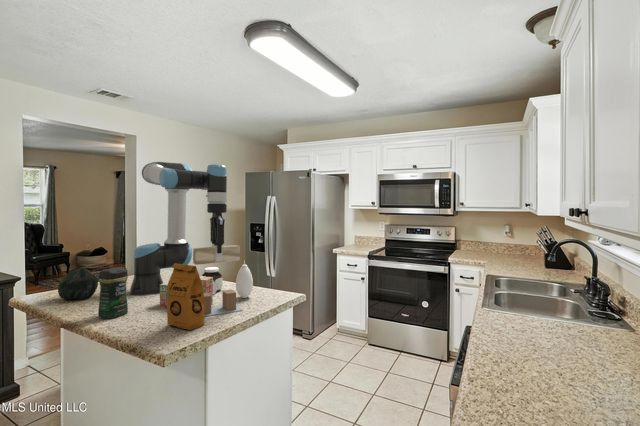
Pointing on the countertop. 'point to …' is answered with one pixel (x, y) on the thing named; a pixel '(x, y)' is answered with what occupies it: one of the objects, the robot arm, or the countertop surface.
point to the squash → (77, 284)
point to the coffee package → (185, 298)
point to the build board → (221, 311)
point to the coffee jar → (113, 292)
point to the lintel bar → (208, 254)
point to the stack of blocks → (206, 283)
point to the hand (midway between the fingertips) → (217, 260)
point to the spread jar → (214, 277)
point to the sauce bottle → (244, 281)
